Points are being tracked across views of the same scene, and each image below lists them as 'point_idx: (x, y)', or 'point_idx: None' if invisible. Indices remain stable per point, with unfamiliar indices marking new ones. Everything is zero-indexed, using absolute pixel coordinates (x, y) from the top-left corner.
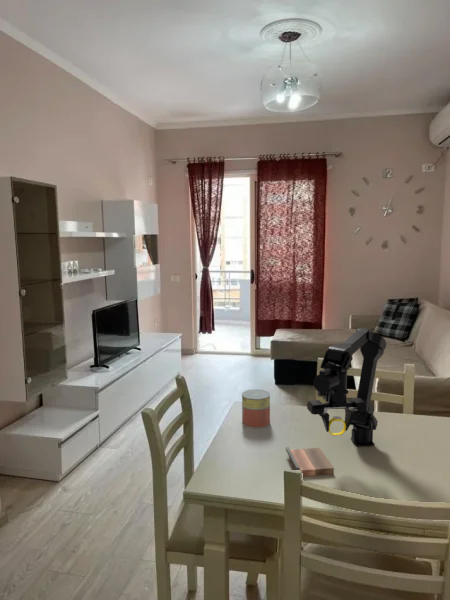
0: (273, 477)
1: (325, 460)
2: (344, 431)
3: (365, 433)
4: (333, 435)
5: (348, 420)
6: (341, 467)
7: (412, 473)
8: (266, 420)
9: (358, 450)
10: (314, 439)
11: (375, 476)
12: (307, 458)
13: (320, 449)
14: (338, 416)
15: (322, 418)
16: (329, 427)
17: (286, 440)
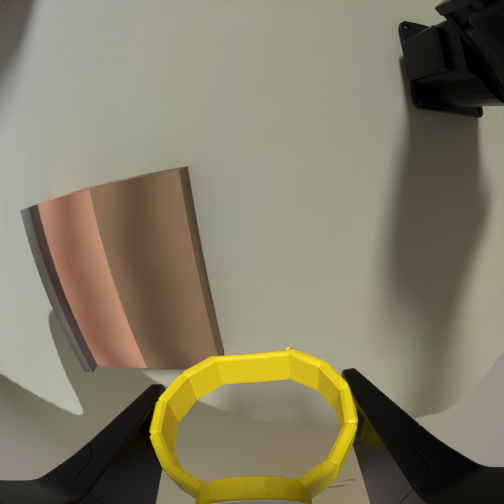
0: (45, 340)
1: (192, 313)
2: (324, 394)
3: (487, 105)
4: (222, 382)
5: (371, 497)
6: (269, 307)
7: (476, 331)
8: None
9: (406, 146)
10: (193, 8)
11: (372, 360)
12: (111, 289)
13: (180, 191)
14: (287, 501)
15: (77, 471)
16: (172, 441)
17: (60, 50)
